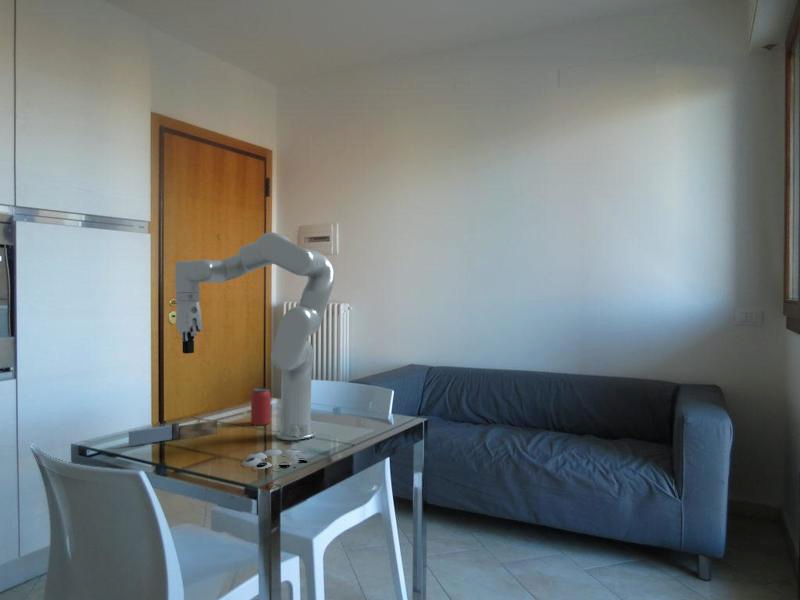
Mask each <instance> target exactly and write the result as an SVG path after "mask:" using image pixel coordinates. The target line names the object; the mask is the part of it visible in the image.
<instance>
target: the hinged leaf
mask: <svg viewBox="0 0 800 600" xmlns="http://www.w3.org/2000/svg"><path fill="white" fill-rule="evenodd" d="M167 440H172V425H164V426H159V427H158V426H157V427H151V428H143V429H137V430H131V431H128V446H130V447H131V446H137V445H143V444H150V443H156V442H161V441H163V442H164V441H167Z"/></svg>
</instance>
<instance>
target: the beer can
mask: <svg viewBox="0 0 800 600" xmlns="http://www.w3.org/2000/svg"><path fill="white" fill-rule="evenodd" d="M271 396H272V395H271V392H270V389H269V388H265V387H260V388H258V387H256V388H253V389H252V393H251V398H250V400H251V401H250V402H251V403H250V405H251V406H250V408H251V410H250V411H251V412H250V417H251V418H250V423H251V424H252V425H255V426H265V425H268V424H270V423H271V398H272V397H271Z"/></svg>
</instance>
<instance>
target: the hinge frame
mask: <svg viewBox="0 0 800 600" xmlns="http://www.w3.org/2000/svg"><path fill="white" fill-rule="evenodd" d="M171 426H172V439H171V441H173V440H175V441H178V440H185V439H192V438H197V437H203V436H208V435H214V434H218V420H209V421H203V422H202V421H201V422H194V423H188V424H183V425H180V423H179V422H173V423H171Z"/></svg>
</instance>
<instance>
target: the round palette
mask: <svg viewBox="0 0 800 600" xmlns="http://www.w3.org/2000/svg"><path fill="white" fill-rule="evenodd" d="M282 452H283V454H288V455H289V454H296V453H298V452H301V453H306V452H305V451H303V452H302V451H300V450H299V449H296V448H295V449H294V448H288V449H285V450H284V451H281V450H280V449H278V448H277V449H276V448H273V449H271V448H270V449H267V450H265V451H264V452H253V453H250V454H249V455H247V457H246V458H245V459H244V460H243V462H242V463H241V464H242V465H245V466H254V467H253V468H255V469H265V468H268V467H271V466H272V465H273V464H272V463H270V462H268V461H261V460H262V459H265V458H267V456H276V455H279V454H281V453H282ZM301 453H298V454H296V455H295V456H297V457H302V456H307V455H303V454H301ZM297 459H305V458H296V459H294V460H292V461H293V462H300V461H298V460H297ZM248 461H249V462H248ZM281 463H288V464H289V465H290V464H291V462H289V461H281V462H279V463H276V464H275V465H274V466H277V467H280V466H279V464H281ZM261 464H267V465H265V466H260V465H261ZM257 465H259V466H260V467H259V466H257Z"/></svg>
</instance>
